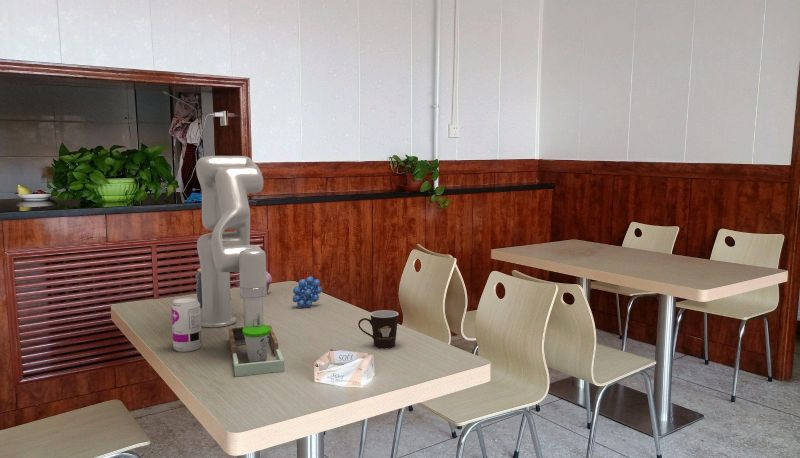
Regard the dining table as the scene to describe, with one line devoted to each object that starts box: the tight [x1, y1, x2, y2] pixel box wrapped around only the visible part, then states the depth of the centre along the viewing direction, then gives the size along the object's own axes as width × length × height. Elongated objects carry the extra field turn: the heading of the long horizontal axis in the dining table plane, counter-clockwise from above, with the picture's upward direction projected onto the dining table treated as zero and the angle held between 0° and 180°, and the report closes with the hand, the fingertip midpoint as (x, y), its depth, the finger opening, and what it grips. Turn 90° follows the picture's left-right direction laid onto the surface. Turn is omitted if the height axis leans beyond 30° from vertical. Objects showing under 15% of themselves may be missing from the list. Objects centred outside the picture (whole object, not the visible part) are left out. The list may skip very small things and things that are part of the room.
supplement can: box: [170, 296, 203, 353], centre depth 190 cm, size 8×8×15 cm
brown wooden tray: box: [228, 324, 279, 361], centre depth 190 cm, size 20×13×4 cm, turn 18°
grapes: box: [292, 275, 323, 308], centre depth 240 cm, size 12×7×12 cm, turn 115°
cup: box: [243, 312, 271, 363], centre depth 174 cm, size 8×8×15 cm
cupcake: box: [266, 271, 273, 293], centre depth 261 cm, size 9×9×10 cm
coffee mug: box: [357, 309, 399, 350], centre depth 193 cm, size 12×9×10 cm
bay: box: [232, 348, 285, 377], centre depth 173 cm, size 10×13×3 cm
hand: (255, 353), depth 182 cm, fingers closed
